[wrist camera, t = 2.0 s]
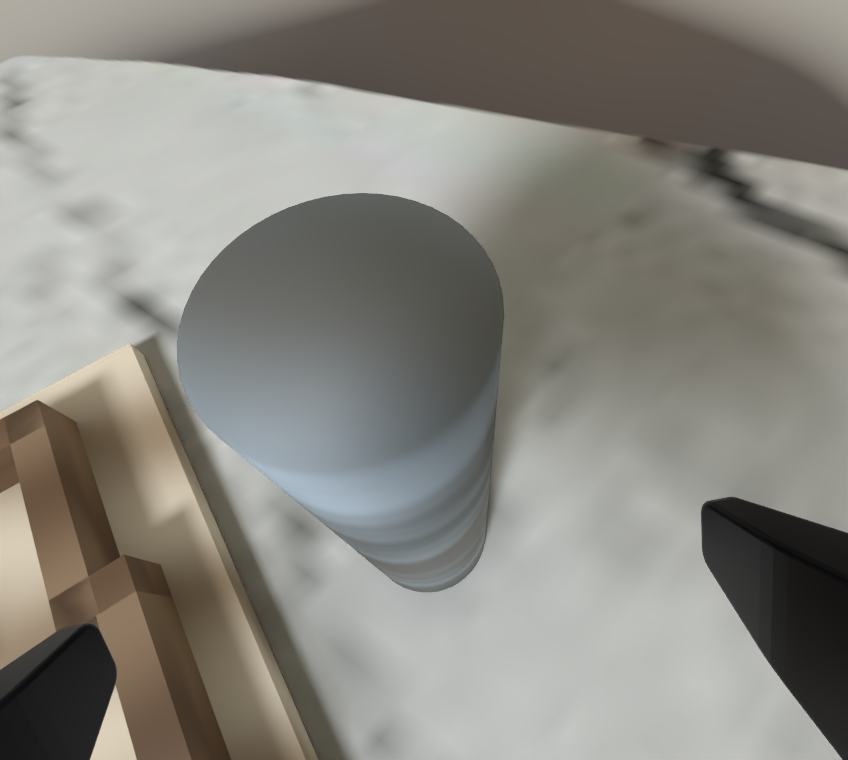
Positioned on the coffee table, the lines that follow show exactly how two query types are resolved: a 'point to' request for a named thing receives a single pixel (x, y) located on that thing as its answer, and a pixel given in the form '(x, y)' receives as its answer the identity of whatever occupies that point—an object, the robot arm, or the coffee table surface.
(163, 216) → the coffee table surface
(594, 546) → the coffee table surface
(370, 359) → the slate peg
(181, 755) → the keyhole board
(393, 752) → the coffee table surface
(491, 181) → the coffee table surface
